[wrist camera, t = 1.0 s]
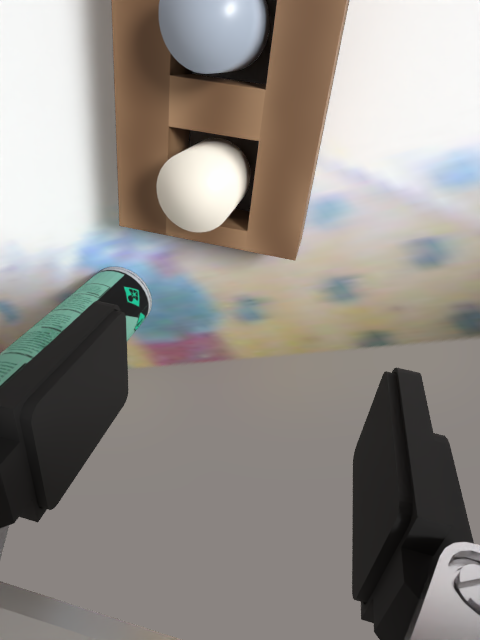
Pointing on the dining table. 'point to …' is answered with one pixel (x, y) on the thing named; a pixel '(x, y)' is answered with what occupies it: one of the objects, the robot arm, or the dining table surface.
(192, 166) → the cream cylinder
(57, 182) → the dining table surface
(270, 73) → the wooden egg holder
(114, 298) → the spray can
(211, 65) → the blue-grey egg
